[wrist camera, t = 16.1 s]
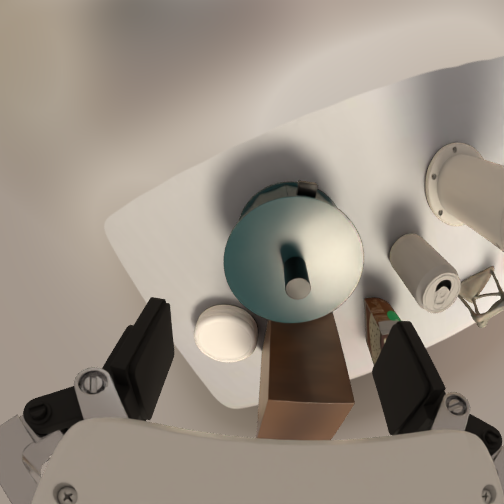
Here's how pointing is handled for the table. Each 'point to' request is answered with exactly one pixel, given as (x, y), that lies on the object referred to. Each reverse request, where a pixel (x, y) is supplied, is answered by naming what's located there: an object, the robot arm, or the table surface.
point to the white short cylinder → (226, 333)
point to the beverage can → (425, 273)
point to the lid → (293, 259)
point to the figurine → (471, 293)
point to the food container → (378, 324)
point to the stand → (303, 381)
